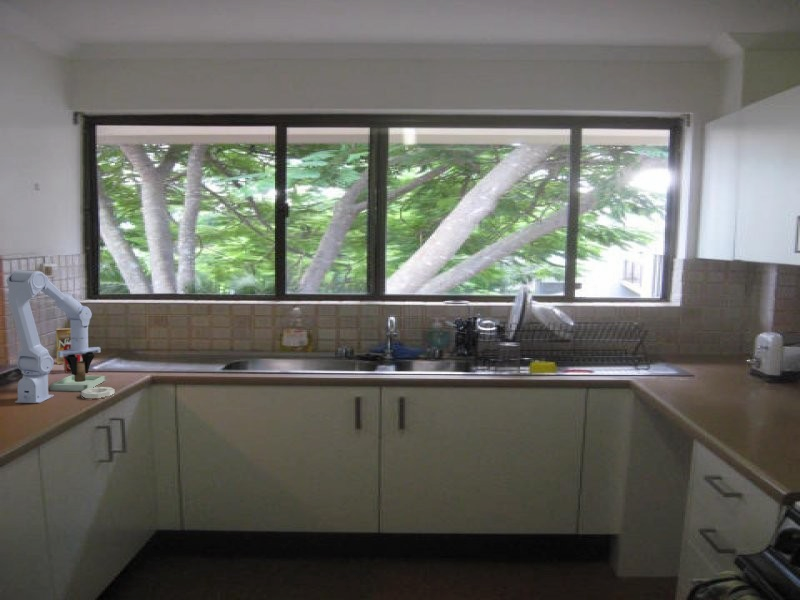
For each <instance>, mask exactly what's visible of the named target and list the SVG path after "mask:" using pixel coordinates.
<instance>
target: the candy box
mask: <svg viewBox="0 0 800 600" xmlns="http://www.w3.org/2000/svg"><path fill="white" fill-rule="evenodd" d="M55 332H56V335H55V336H56V337H55V338H56V339H55V340H56V342H55V345H56V346H55V347H56V365H61V364H62V365H64V357H58V351H64V346H65V345H66V344H65V343H67V342H71V328H70V327H66V328H62V327H61V328H56V331H55Z"/></svg>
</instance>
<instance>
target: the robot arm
mask: <svg viewBox="0 0 800 600" xmlns="http://www.w3.org/2000/svg"><path fill="white" fill-rule="evenodd" d="M6 284H7V287H8V296H7V300H8V305H9V307H10V312H11V314H12V318H13V319H12V320H13V322H14V326H15V328H16V333H17V336H18V339H19V343H20V346H21V349H20V350H18V351H17V353H16V355H17V361H16V364H17V368H18V370H20V371H21V375H22V378H20V379H19V380H18V382H17V399H16V400H15V401H14V403H19V404H21V403H22V404H41V403H42V402H44V401H46V400H48V399H51V398H53V397H54V396H55V395H54V394H49V374H50V373H51V371H52V370H53V367H54V358H53V357H52V356H51V355H50V353H49V350H48V349H47V348H46V347H44V345H42V343H41V341H40V336H39V334H38V329H37V325H36V321H35V318H34V315H33V311H32V307H31V303H30V301H31V299H33V298H35V296H37V294H38V293H40V292H42V293H43V294H45V295H46V296H48V297H49V298H51V299H52V300H54V305H55V306H56V307H57V308H59V309H60V310H61V311H63V313H64V314H65V315H66V318H67V320H69V322H70V324H69V325H70V327H69V328H71V349H69V350H64V351H58V357H64V356H65V359H66V360H67V362H68V364H69V366H70V369H71V372H72V373H71V375H76V374H77V369H76V366H77V359H78V358H77V357H76V356H75V355H80V354H82V359H83V361H84V362H85V374H89V369H90V365H91V364H92V361H93V360H94V358H95V353H96V354H98V353H101V346H93V347H91V346H90V347H89V325H90V321H91V318H92V315H93V312H92V311H91V309H90V308H89V307H88V306H87V305H83V304H81V302H80V301H79V300H77V299H76V298H74V297H73V296H74V295H73V294H71V293H68V292H65V293H63V292H62V291H61V290H60V289H59V288H57V286H56V285H55V284H54V283H52V282H51V281H50V280H49V276H47V275H46V274H45V273H44V272H42V271H41V270H40V271H39V270H37V271H35V270H34V271H33V270H20V269H14V270H13V271H11V272H10V273H9V276H8V277H7V279H6Z"/></svg>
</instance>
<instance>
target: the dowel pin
mask: <svg viewBox="0 0 800 600" xmlns="http://www.w3.org/2000/svg"><path fill="white" fill-rule="evenodd" d="M76 369H77V374H76V375H74V380H75V382H83V381H85V375H86V373H85V362H84V361H78V362H77V366H76Z"/></svg>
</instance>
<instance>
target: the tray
mask: <svg viewBox="0 0 800 600" xmlns="http://www.w3.org/2000/svg"><path fill="white" fill-rule="evenodd" d="M103 381H105V382H106V375H86V374H85V381H83V382H75V380H74V375H72V374H70V375H68V376H66V377H64V378H63V377H62V378H61V379H59V380H57V381H54V382H51V383H50V384H49V391H53V392H54V391H55V392H60V391H61V392H82V391H83V390H85V389H88V388H93V387H94V388H95V386H96V385H98V384H100V383H102V382H103ZM102 384H103V383H102ZM100 385H101V384H100ZM98 386H99V385H98ZM96 387H97V386H96Z"/></svg>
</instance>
